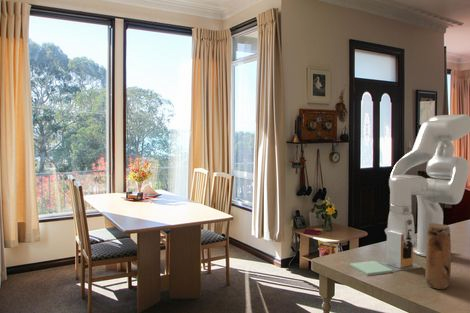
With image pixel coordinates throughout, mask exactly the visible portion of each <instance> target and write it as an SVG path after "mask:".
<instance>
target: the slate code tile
mask: <svg viewBox="0 0 470 313" xmlns="http://www.w3.org/2000/svg"><path fill="white" fill-rule="evenodd" d="M378 263H380V264H382V265H384V266H386V267H388V268H390V269H392V270H393V272H399V271H407V270H415V269H422V268H423V267H422V266H420V265H418V264H416V263H413V265H409V266H406V267H403V268H398V267H394V266H391V265H388V264H386V260H385V261H378Z"/></svg>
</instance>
